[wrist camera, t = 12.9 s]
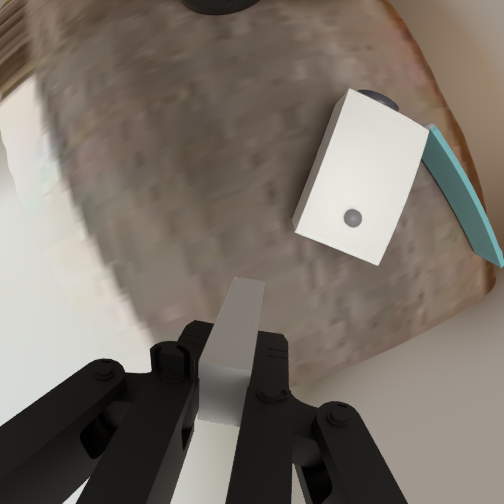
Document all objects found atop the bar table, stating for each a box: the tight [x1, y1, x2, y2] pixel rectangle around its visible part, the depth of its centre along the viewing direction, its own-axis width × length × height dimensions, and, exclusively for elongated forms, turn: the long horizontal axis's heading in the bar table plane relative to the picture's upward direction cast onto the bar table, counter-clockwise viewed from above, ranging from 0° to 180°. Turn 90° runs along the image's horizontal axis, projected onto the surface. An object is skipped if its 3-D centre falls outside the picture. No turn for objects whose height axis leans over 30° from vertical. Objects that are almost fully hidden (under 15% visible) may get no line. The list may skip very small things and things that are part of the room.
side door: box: [421, 123, 504, 268], centre depth 32 cm, size 24×2×8 cm, turn 43°
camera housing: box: [292, 88, 429, 266], centre depth 33 cm, size 20×11×10 cm, turn 160°
